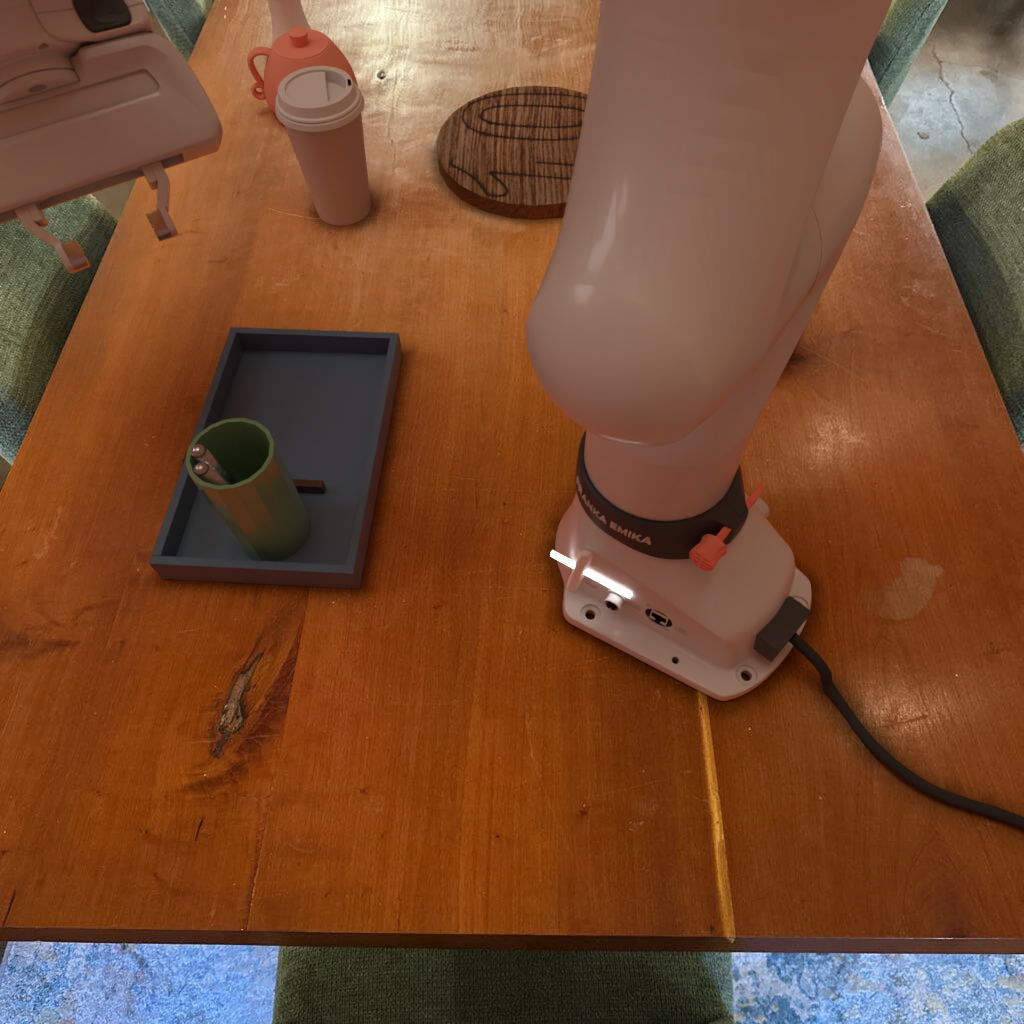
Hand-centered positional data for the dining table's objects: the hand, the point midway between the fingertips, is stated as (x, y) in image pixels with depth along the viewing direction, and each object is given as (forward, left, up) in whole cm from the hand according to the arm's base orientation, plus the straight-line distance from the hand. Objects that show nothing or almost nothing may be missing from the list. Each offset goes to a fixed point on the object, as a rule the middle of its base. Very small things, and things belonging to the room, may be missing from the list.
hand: (125, 253), depth 55 cm
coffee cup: (+18, -31, -24) cm, 43 cm away
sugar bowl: (+37, -42, -24) cm, 61 cm away
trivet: (+7, -54, -24) cm, 60 cm away
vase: (+49, -50, -24) cm, 74 cm away
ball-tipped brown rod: (-12, +4, -22) cm, 26 cm away
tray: (-6, -3, -23) cm, 24 cm away
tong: (-10, +4, -22) cm, 25 cm away
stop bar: (-8, 0, -23) cm, 24 cm away
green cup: (-11, +4, -23) cm, 26 cm away
